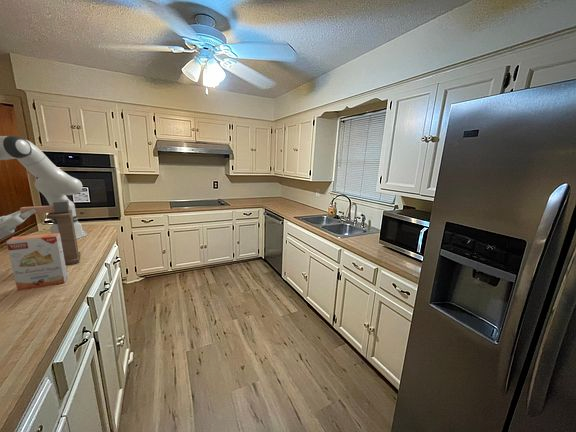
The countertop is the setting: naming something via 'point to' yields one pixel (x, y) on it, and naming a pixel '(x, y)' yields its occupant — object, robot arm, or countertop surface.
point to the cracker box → (37, 260)
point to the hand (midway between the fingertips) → (36, 209)
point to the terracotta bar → (49, 208)
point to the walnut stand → (67, 236)
